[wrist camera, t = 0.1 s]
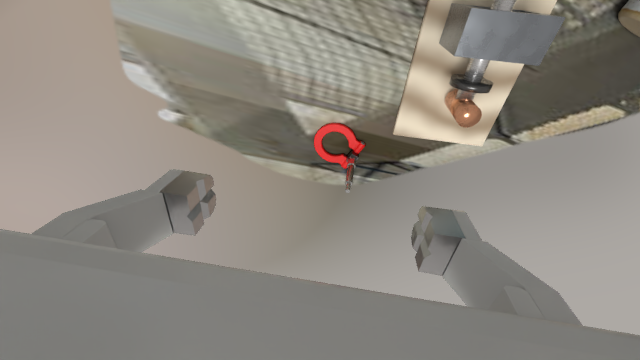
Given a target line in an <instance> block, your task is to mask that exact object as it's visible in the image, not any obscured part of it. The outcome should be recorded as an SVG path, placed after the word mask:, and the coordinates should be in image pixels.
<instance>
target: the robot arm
mask: <svg viewBox="0 0 640 360" xmlns="http://www.w3.org/2000/svg"><path fill="white" fill-rule="evenodd" d="M213 185H214V181H213V177H212V176H211V175H207V174H201V173H195V172H189V171H183V170H175V169H173V170H170V171H168V172H167V173H166V174H165V175H163V176H162V177H161V178H159V179H158V180H157V181H156V182H155V183H153V184H152V185H151V186H149V187H148V188H147V189H145V190H138V191H135V192H131V193H128V194H124V195H121V196H118V197H115V198H111V199H108V200H105V201H102V202H98V203H95V204H92V205H88V206H85V207H82V208H78V209H75V210H72V211H69V212H65V213H63V214H61V215H60V216H58V217H57V218H55V219H54V220H52V221H50V222H49V223H47V224H46V225H44V226H43V227H41V228H39V229H38V230H36V231H35V232H34V233H32V234H27V233H21V232H15V231H9V230H3V229H0V360H640V335H635V334H629V333H623V332H617V331H610V330H605V329H599V328H593V327H587V326H583V325H582V324H581V322H580V321H579V320H578V319H577V317H576V316H575V314H574V313H573V312H572V310H571V309H570V308H569V306H568V305H567V303H566V302H565V301H564V299H563V298H562V297H561V295H560V294H559V293H558V292H557V291H556V290H554V289H553V288H551V287H550V286H548V285H547V284H546V283H544V282H543V281H541V280H540V279H539V278H537V277H536V276H534V275H533V274H531V273H530V272H529V271H527V270H526V269H524V268H523V267H522V266H520V265H518V264H517V263H516V262H515V261H513V260H512V259H510V258H509V257H508V256H506V255H505V254H503V253H502V252H500V251H499V250H498V249H496V248H495V247H493V246H492V245H491V244H489V243H488V242H483V241H482V239H481V238H480V236H479V234H478V232H477V231H476V229H475V227H474V226H473V224H472V222H471V220H470V219H469V217H468V215H467V213H466V212H464V211H458V210H448V209H440V208H432V207H424V206H422V207H421V208H420V210H419V213H418V217H419V221H418V222H417V223H415V224H414V227H413V230H412V237H411V240H412V246H413V249H414V250H415V251H416V252H417V253H416V256H415V259H416V263H417V267H418V271H419V272H424V273H430V274H435V275H440V276H443V278H444V279H445V281H446V282H447V283H448V284H449V285H450V286H451V288H452V289H453V290H454V291H455V292H456V293H457V295H458V296H459V297H460V298H461V299H462V301H463V302H464V303H465V304H466V305H467V306H468V307H467V306H461V305H454V304H448V303H442V302H436V301H429V300H424V299H418V298H412V297H405V296H400V295H394V294H388V293H382V292H375V291H370V290H363V289H358V288H352V287H346V286H340V285H334V284H328V283H322V282H316V281H310V280H304V279H298V278H292V277H285V276H280V275H273V274H268V273H262V272H255V271H249V270H243V269H237V268H231V267H225V266H219V265H213V264H207V263H201V262H195V261H189V260H183V259H177V258H171V257H165V256H159V255H153V254H147V253H141V252H143V251H144V250H146V249H148V248H150V247H151V246H153V245H155V244H156V243H158V242H160V241H162V240H163V239H165V238H167V237H168V236H170V235H172V234H173V233H179V234H187V235H194V236H195V235H196V234H197V233H198V231H199V230H200V229H201V227H202V226H203V225H204V219H206V218H208V217H210V216H211V214H212V213H213V211H214V208H215V206H216V195H215V193H214V192H213V191H212V189H211V188H212V187H213Z"/></svg>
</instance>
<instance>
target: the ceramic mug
mask: <svg viewBox="0 0 640 360" xmlns="http://www.w3.org/2000/svg"><path fill="white" fill-rule="evenodd" d="M618 19H619V21H620V22H621V24H622V25H623V26H624V27H625V28H626V29H628V30H629V31H631V32H632V33H634V34H635V35H637V36H639V37H640V0H629V1H628V2H627V3H626V5H625V6H624V7H623V8H622V9H621V11H620V12H619V15H618Z"/></svg>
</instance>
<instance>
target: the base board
mask: <svg viewBox="0 0 640 360" xmlns="http://www.w3.org/2000/svg"><path fill="white" fill-rule="evenodd" d="M493 1H494V0H428V3H427V6H426V10H425V14H424V17H423V21H422V25H421V28H420V32H419V36H418V40H417V43H416V47H415V51H414V54H413V58H412V62H411V66H410V69H409V73H408V77H407V80H406V84H405V88H404V92H403V95H402V99H401V103H400V106H399V110H398V114H397V118H396V121H395V125H394V129H393V135H400V136H408V137H415V138H423V139H431V140H438V141H446V142H453V143H461V144H469V145H476V146H482V145H483V143H484V141H485V139H486V137H487V135H488V133H489V131H490V130H491V128H492V126H493V124H494V122H495V120H496V118H497V116H498V114H499V112H500V110H501V108H502V106H503V104H504V102H505V100H506V98H507V97H508V95H509V93H510V91H511V89H512V87H513V85H514V83H515V81H516V79H517V77H518V75H519V73H520V71H521V69H522V67H523V65H524V64H519V63H510V62H501V61H492V60H490V62H489V65H488V67H487V69H486V71H485V74H484V76H483V78H485V79H488V80H490V81H492V82H493V86H492V88H491V90H490V92H489V93H476V94H475V97H474V99H473V102H474V103H475V104H476V105H477V106H478V107H479V108H480V110H481V112H482V117H481V119H480V121H479V122H478V123H477V124H476V125H474V126H472V127H467V128H465V127H461V126H460V125H459V124H458V123H457V122H456V120H455V119H454V117H453V116H452V114H451V113H450V111H449V109H448V108H447V106H446V105H445V98H446V96H447V95H448V94H449V93H450V92H451V91H453V90H459V89H457V88H454V87H452V86H451V85H450V84H449V81H450V79H451V76H452V75H453V74H465V72H466V69H467V67H468V64H469V62H470V59H471V58H465V57H456V56H453V55H452V54H451V53H450V52H449V51H447V50H446V49H445V48H444V47H442V46H441V45H440V44H439V42H440V38H441V35H442V32H443V29H444V26H445V23H446V19H447V16H448V13H449V10H450V7H451V4H452V3H455V4H465V5H475V6H485V7H491V6H492V3H493ZM556 1H557V0H517V1H516V3H515V5H514V8H513V9H515V10H525V11H532V12H538V13H544V14H549V15H550V13H551V11H552V9H553V7H554V5H555V3H556Z"/></svg>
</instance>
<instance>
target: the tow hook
mask: <svg viewBox="0 0 640 360" xmlns="http://www.w3.org/2000/svg"><path fill="white" fill-rule="evenodd" d="M333 131H335V132H340V133H342V134H344V135H345V136H346V137H347V139H348V142H349V147H350V148H351V149H352V150H351V152H350V153H349V154H348V155H347V156H346V155H344V154H339V155H333V154H330V153H328V152H327V151H326V150H325V149H324V148H323V145H322V138H323V137H324V135H326V134H327V133H329V132H333ZM314 146H315V149H316V151H317V153H318V154H319V155H320V156H321V157H322V158H323V159H325V160H326V161H329V162H334V163H339V164H341V166H342V167H343V168H347V167H348V170H347V176H346V182H345V185H346V190H345V192H346V193H349V192H350V188H351V186H352V182H353V174H354V168H355V167H356V161H357V159H358V158H359V153H360V151H361V150H362V149H363V148H364V147H365V146H366V144H365V143H364V142H363V141H358V140H357V139H356V136H355V134H354V133H353V131H352V130H351V129H350V128H349V127H347V126H345V125H343V124H340V123H329V124H326V125H324V126H322V127H321V128H320V129H319V130H318V132H317V133H316V135H315V139H314Z"/></svg>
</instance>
